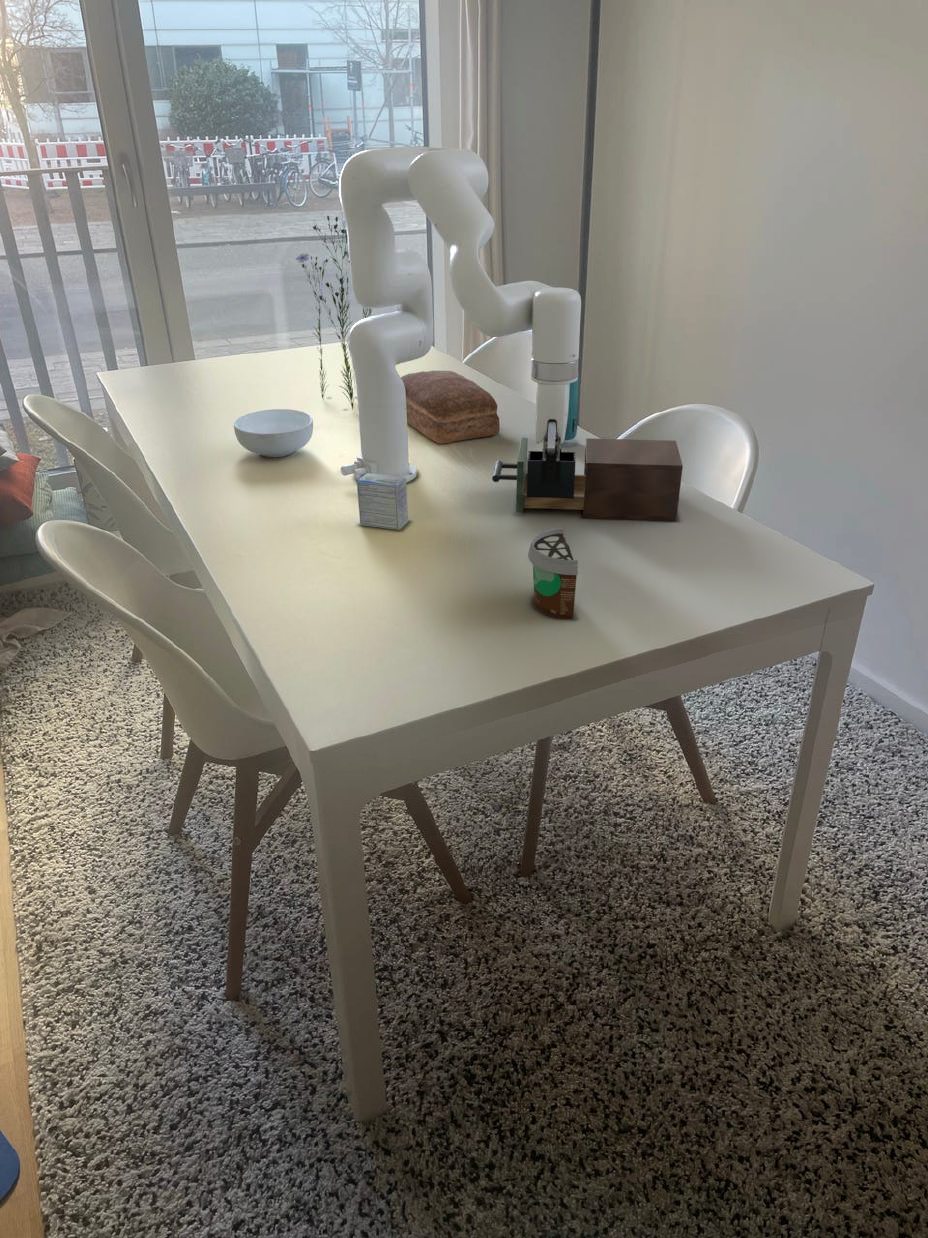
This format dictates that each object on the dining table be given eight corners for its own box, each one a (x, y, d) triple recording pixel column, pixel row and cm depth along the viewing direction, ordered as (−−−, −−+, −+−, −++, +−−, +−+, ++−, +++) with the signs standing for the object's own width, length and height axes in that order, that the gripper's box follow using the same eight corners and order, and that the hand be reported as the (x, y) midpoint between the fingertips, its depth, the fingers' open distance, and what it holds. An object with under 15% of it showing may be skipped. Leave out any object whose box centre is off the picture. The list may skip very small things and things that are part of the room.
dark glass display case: (526, 497, 154) (527, 460, 151) (528, 486, 158) (528, 450, 155) (573, 498, 153) (575, 461, 150) (573, 487, 158) (575, 451, 154)
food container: (521, 586, 142) (522, 528, 137) (560, 584, 143) (562, 526, 138) (533, 625, 132) (535, 563, 127) (574, 623, 132) (578, 561, 127)
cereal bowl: (222, 459, 195) (217, 427, 192) (264, 435, 209) (261, 405, 205) (290, 468, 190) (286, 435, 186) (329, 444, 203) (326, 413, 199)
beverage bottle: (575, 447, 199) (579, 355, 189) (545, 446, 200) (548, 354, 190) (577, 438, 205) (582, 348, 195) (548, 436, 206) (551, 347, 196)
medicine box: (409, 521, 165) (407, 476, 161) (399, 531, 161) (397, 485, 157) (369, 516, 167) (366, 472, 163) (359, 525, 163) (356, 480, 159)
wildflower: (311, 393, 239) (293, 206, 217) (397, 389, 241) (388, 204, 219) (307, 418, 220) (287, 217, 197) (401, 414, 222) (392, 214, 199)
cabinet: (583, 518, 166) (586, 462, 160) (583, 490, 177) (586, 438, 172) (676, 521, 164) (682, 465, 159) (670, 493, 176) (675, 440, 170)
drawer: (490, 511, 167) (490, 460, 162) (496, 485, 179) (496, 437, 174) (608, 515, 165) (612, 464, 160) (606, 488, 176) (610, 440, 171)
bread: (449, 403, 230) (448, 357, 224) (503, 436, 207) (504, 386, 201) (387, 412, 223) (384, 365, 218) (435, 447, 200) (434, 396, 195)
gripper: (533, 356, 153) (531, 459, 162) (528, 383, 139) (526, 494, 148) (578, 357, 153) (573, 460, 161) (577, 384, 138) (572, 496, 147)
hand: (550, 475), depth 154 cm, fingers closed on dark glass display case, 5 cm apart
